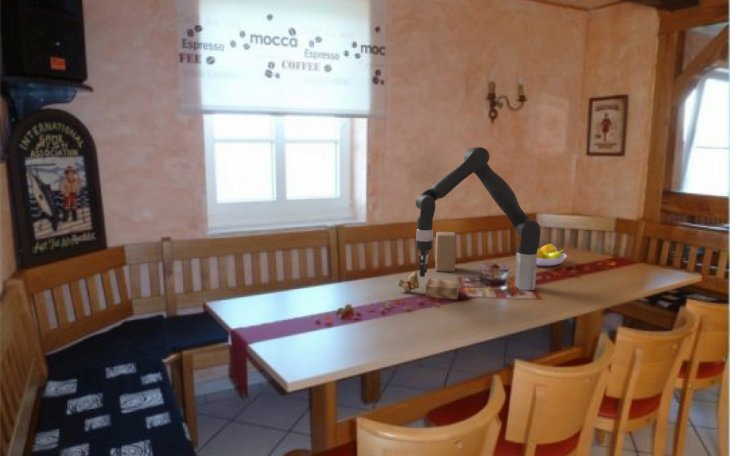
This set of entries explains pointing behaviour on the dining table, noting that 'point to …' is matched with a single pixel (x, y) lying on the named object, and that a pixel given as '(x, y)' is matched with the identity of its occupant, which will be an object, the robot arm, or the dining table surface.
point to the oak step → (442, 289)
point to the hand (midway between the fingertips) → (423, 274)
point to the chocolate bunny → (409, 283)
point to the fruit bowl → (549, 256)
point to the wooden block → (445, 251)
